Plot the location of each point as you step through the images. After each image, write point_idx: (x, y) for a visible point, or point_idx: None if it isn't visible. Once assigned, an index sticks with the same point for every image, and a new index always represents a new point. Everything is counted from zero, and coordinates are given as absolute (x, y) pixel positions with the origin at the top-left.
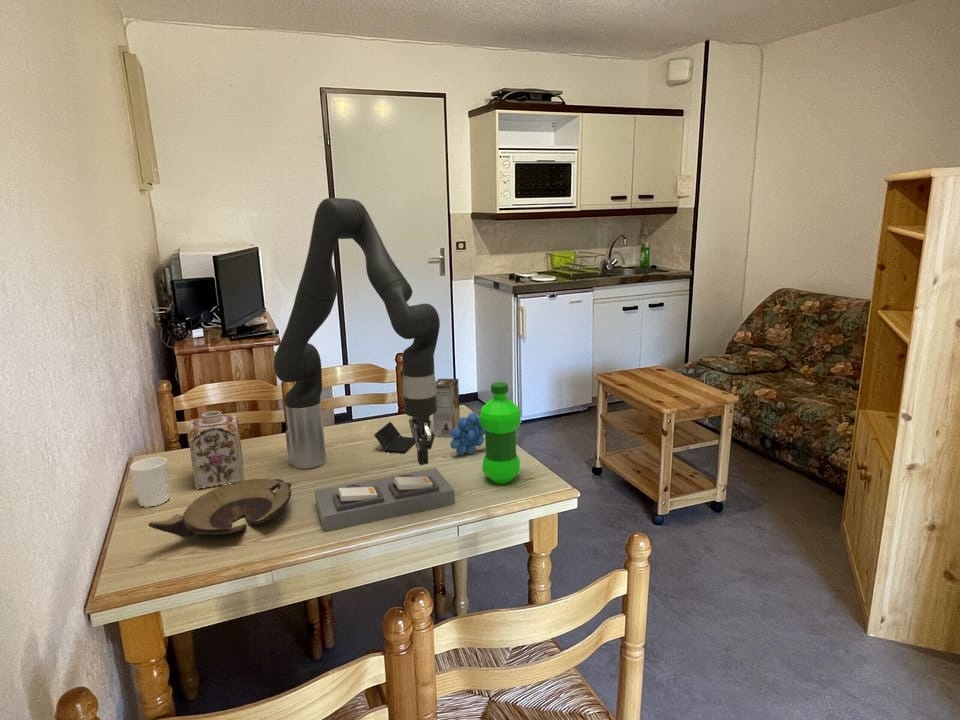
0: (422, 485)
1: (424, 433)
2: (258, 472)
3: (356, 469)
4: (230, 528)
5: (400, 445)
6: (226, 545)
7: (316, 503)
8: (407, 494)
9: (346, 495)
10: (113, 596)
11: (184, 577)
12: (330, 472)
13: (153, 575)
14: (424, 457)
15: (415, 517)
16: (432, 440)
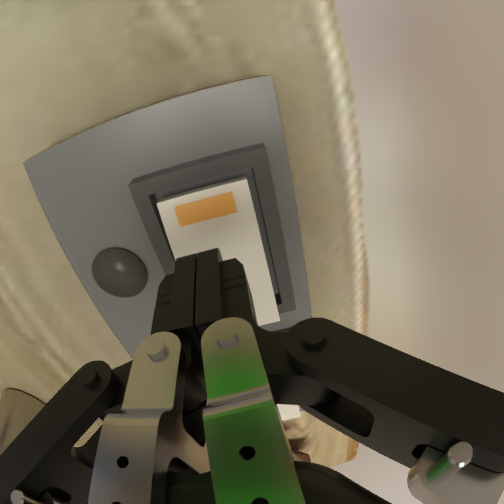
0: (257, 226)
1: (423, 499)
2: (82, 445)
3: (25, 352)
4: (305, 460)
5: None
6: (300, 443)
7: None
8: (289, 272)
9: (297, 410)
10: (353, 456)
11: (351, 442)
12: (52, 388)
13: (334, 455)
14: (251, 301)
15: (321, 217)
16: (477, 391)
